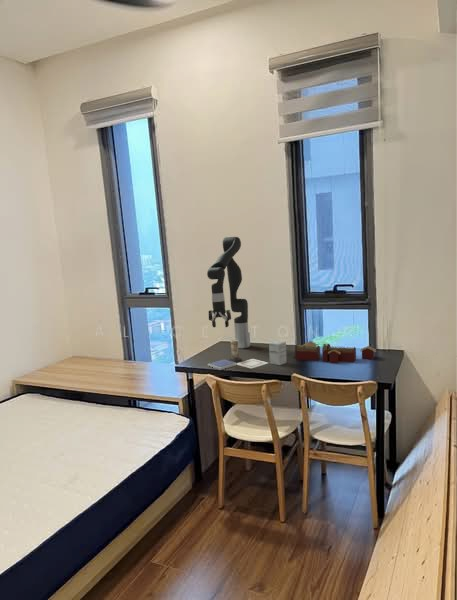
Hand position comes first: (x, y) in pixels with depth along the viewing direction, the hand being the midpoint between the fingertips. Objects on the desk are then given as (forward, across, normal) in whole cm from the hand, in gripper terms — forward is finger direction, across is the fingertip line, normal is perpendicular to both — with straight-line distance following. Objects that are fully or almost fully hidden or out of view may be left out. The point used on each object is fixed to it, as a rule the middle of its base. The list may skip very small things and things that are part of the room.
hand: (220, 327), depth 273 cm
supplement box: (+23, -33, -7) cm, 41 cm away
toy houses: (+24, -62, -25) cm, 71 cm away
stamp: (+21, -5, -5) cm, 23 cm away
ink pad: (+22, -3, +8) cm, 23 cm away
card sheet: (+22, -19, -1) cm, 29 cm away
